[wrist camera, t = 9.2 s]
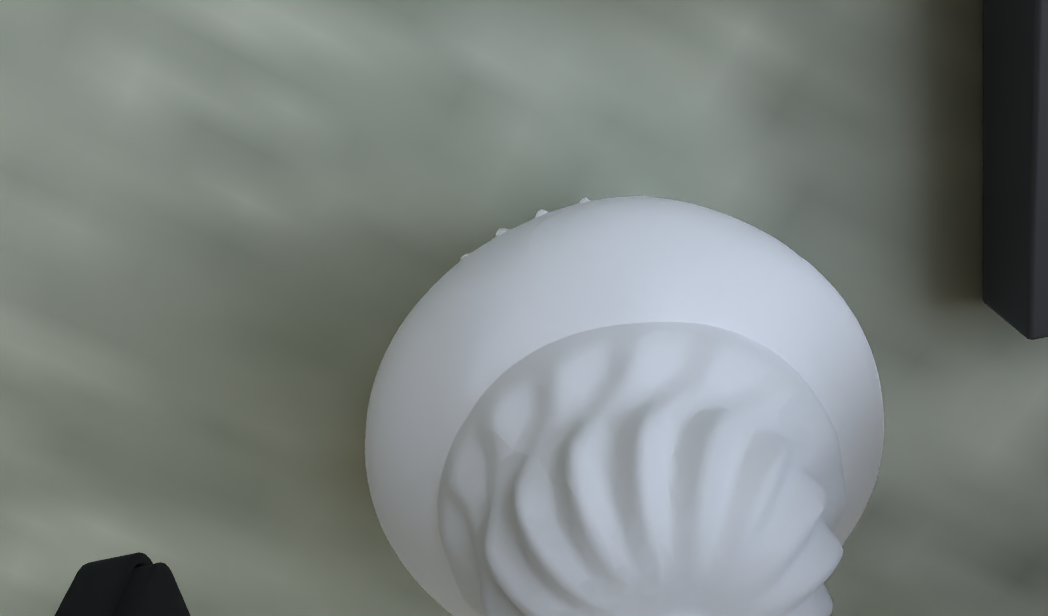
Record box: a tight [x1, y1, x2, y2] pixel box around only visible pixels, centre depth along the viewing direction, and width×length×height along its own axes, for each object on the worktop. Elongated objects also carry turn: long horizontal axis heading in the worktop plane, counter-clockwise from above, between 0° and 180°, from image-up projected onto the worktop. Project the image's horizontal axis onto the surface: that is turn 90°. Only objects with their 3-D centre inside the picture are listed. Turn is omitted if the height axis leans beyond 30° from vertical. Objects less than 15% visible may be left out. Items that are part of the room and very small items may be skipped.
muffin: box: [365, 195, 884, 616], centre depth 12 cm, size 6×6×7 cm
